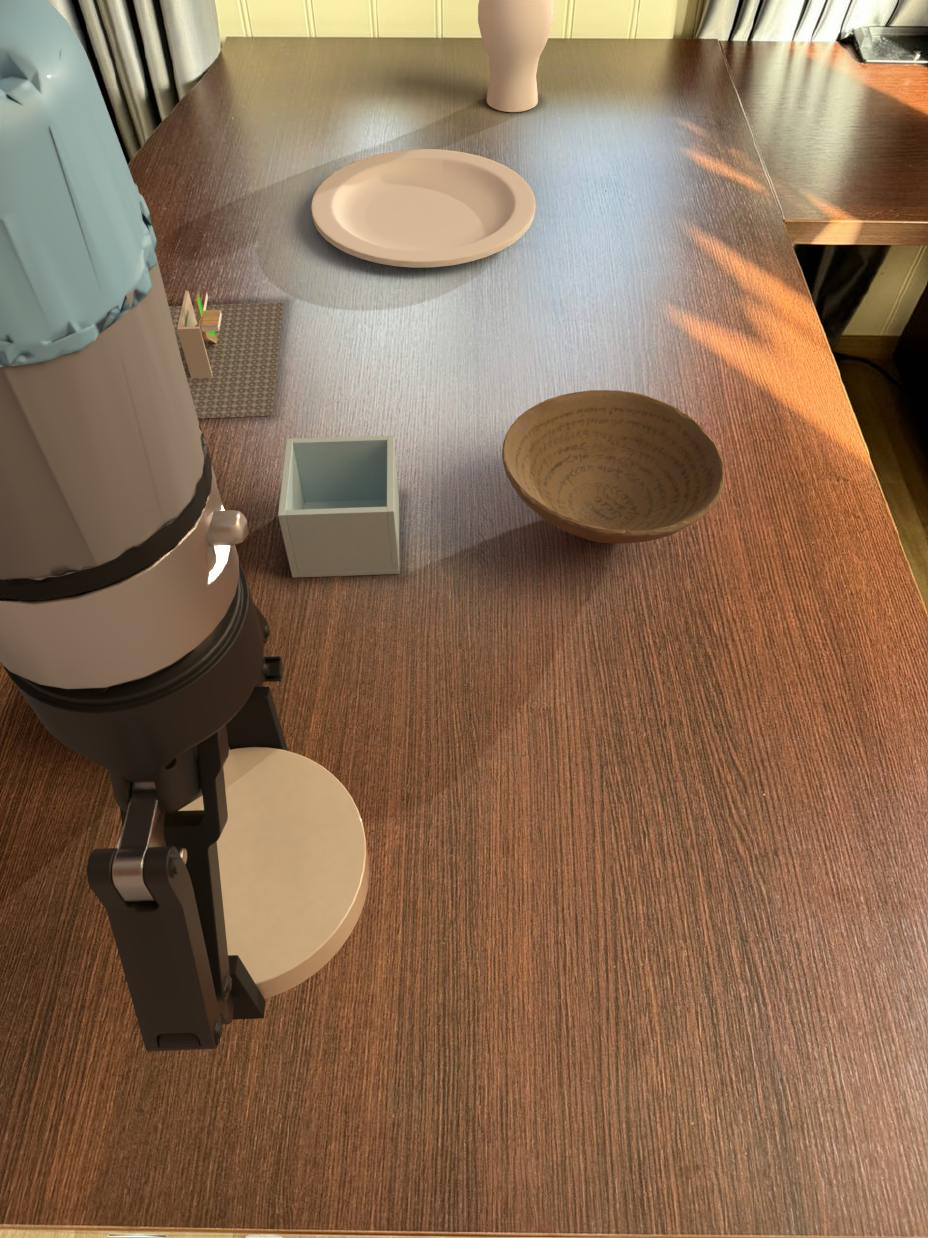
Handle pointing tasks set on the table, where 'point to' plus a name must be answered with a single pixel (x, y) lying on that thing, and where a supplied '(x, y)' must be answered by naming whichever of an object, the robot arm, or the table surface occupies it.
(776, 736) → the table surface
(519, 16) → the cup
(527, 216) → the plate
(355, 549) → the container
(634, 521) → the bowl
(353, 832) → the small plate
